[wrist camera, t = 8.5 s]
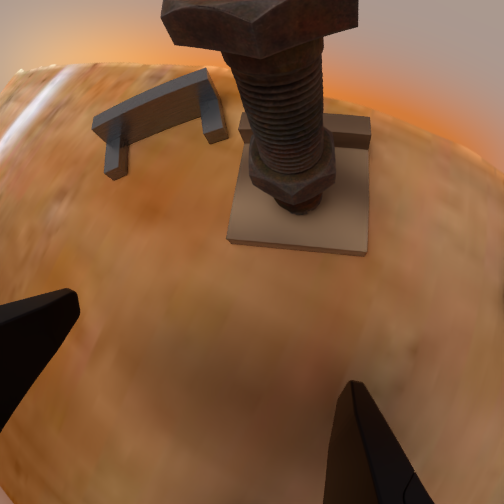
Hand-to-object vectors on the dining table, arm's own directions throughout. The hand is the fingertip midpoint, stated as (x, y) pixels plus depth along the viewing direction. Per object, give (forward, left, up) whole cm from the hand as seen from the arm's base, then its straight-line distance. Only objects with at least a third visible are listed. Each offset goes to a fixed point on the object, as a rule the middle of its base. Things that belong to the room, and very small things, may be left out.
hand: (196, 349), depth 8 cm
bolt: (+6, -8, -10) cm, 14 cm away
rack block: (+7, -8, -11) cm, 15 cm away
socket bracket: (+19, -3, -11) cm, 22 cm away
